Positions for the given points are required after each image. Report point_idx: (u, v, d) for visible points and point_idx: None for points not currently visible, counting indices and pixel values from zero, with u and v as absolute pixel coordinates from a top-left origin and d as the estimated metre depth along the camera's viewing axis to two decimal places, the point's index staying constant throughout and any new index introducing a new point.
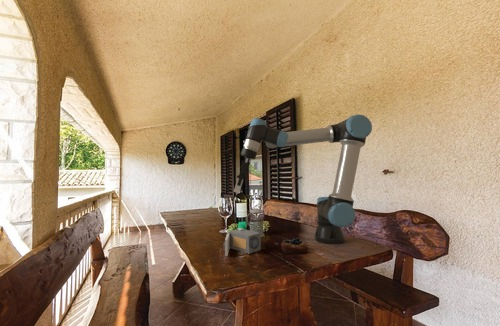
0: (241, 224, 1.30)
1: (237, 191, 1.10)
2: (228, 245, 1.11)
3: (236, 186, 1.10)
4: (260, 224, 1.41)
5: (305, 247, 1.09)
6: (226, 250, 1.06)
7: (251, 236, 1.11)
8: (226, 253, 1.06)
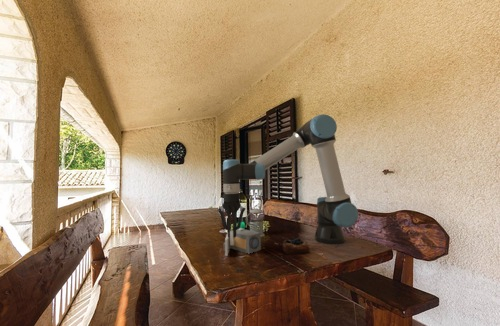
0: None
1: (233, 242, 1.11)
2: (228, 245, 1.11)
3: (233, 239, 1.10)
4: (260, 224, 1.41)
5: (306, 247, 1.09)
6: (226, 250, 1.06)
7: (251, 236, 1.11)
8: (226, 253, 1.06)
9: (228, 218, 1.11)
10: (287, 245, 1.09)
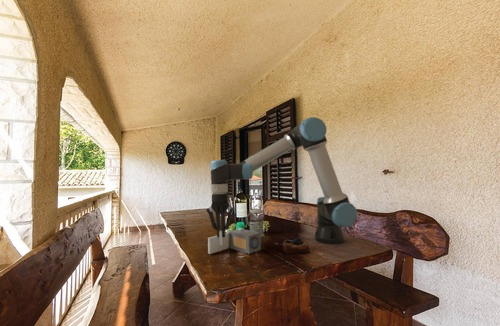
0: (239, 224, 1.30)
1: (222, 242, 1.12)
2: (218, 244, 1.13)
3: (222, 239, 1.11)
4: (260, 224, 1.41)
5: (307, 247, 1.09)
6: (209, 248, 1.09)
7: (251, 236, 1.11)
8: (208, 251, 1.09)
9: (217, 218, 1.11)
10: (287, 245, 1.09)
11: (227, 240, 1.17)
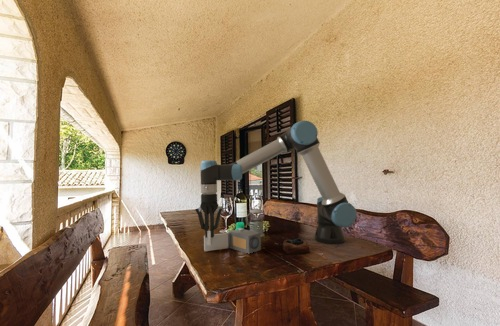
0: (239, 224, 1.30)
1: (211, 242, 1.13)
2: (215, 243, 1.15)
3: (210, 239, 1.12)
4: (260, 224, 1.41)
5: (307, 247, 1.09)
6: (204, 246, 1.13)
7: (251, 236, 1.11)
8: (204, 248, 1.13)
9: (205, 218, 1.12)
10: (288, 245, 1.09)
11: (226, 240, 1.17)
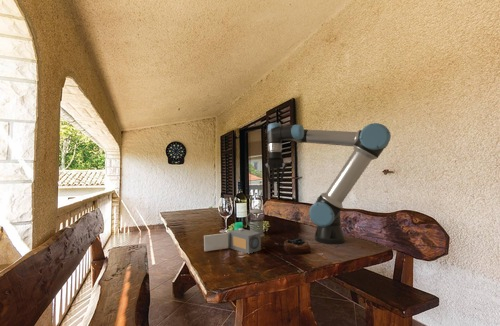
0: (238, 224, 1.29)
1: None
2: (215, 243, 1.15)
3: None
4: (260, 224, 1.41)
5: (308, 247, 1.09)
6: (204, 246, 1.13)
7: (251, 236, 1.11)
8: (204, 248, 1.13)
9: (272, 173, 1.30)
10: (289, 245, 1.09)
11: (226, 240, 1.17)
